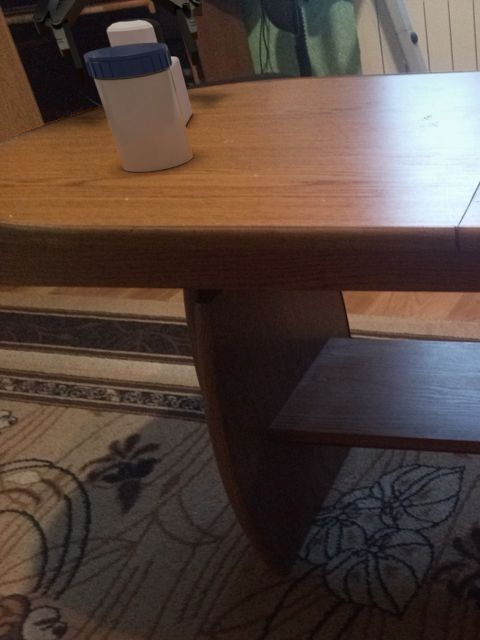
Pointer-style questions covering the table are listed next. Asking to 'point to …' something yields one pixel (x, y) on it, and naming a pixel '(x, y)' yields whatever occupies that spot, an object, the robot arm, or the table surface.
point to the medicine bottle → (150, 33)
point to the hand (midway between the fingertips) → (140, 67)
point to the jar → (145, 121)
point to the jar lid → (128, 60)
